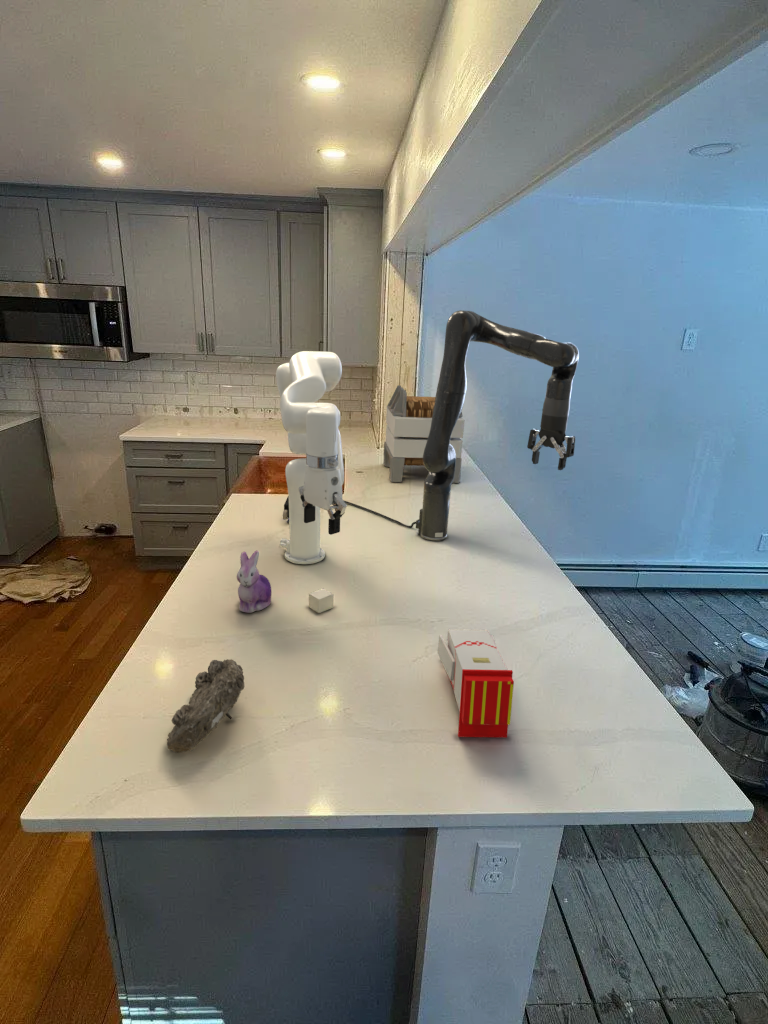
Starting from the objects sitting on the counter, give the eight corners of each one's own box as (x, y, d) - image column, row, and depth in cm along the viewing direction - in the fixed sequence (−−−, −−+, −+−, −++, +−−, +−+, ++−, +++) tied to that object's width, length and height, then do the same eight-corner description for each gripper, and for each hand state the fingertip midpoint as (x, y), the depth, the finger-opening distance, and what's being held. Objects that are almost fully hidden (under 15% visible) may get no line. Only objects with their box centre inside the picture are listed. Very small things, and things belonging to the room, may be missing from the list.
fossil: (192, 660, 117) (244, 628, 112) (224, 691, 120) (276, 661, 115) (142, 746, 98) (202, 712, 93) (182, 779, 101) (242, 748, 96)
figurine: (241, 617, 142) (239, 563, 137) (232, 599, 151) (229, 547, 146) (278, 610, 146) (277, 557, 141) (266, 592, 155) (265, 542, 150)
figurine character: (300, 529, 203) (305, 510, 217) (300, 510, 200) (305, 492, 213) (282, 528, 203) (287, 510, 216) (281, 509, 200) (287, 492, 213)
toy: (488, 613, 130) (523, 677, 101) (484, 667, 133) (517, 744, 104) (435, 612, 130) (455, 676, 101) (432, 666, 133) (451, 743, 103)
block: (333, 607, 149) (333, 593, 148) (318, 613, 146) (318, 599, 145) (323, 601, 152) (323, 587, 151) (308, 607, 149) (308, 593, 148)
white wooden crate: (382, 463, 289) (386, 382, 275) (445, 464, 293) (451, 384, 279) (390, 482, 257) (394, 392, 243) (460, 483, 261) (468, 394, 247)
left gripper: (357, 466, 132) (356, 534, 138) (312, 451, 144) (312, 514, 150) (333, 471, 127) (332, 541, 133) (287, 455, 139) (288, 521, 145)
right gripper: (584, 415, 164) (575, 469, 170) (540, 408, 174) (533, 459, 179) (571, 418, 159) (562, 474, 165) (527, 410, 169) (520, 463, 174)
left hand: (321, 527), depth 141 cm, fingers open, 9 cm apart
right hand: (547, 466), depth 172 cm, fingers open, 8 cm apart
